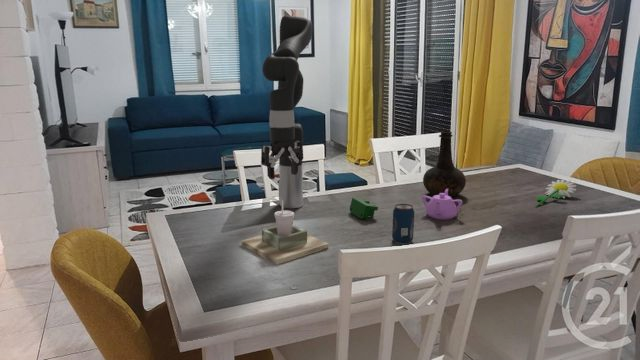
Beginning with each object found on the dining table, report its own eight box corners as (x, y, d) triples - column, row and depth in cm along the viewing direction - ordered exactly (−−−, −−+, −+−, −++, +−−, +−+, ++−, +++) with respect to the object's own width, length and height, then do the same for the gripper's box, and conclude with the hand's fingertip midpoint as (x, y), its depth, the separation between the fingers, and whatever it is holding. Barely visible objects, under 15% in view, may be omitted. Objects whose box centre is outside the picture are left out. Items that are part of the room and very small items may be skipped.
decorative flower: (551, 216, 200) (581, 192, 219) (551, 204, 198) (581, 181, 217) (520, 210, 209) (551, 188, 228) (519, 199, 208) (551, 177, 226)
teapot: (446, 209, 201) (447, 187, 199) (464, 220, 188) (466, 197, 186) (418, 211, 198) (420, 190, 196) (436, 223, 185) (437, 200, 183)
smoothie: (274, 238, 166) (274, 197, 163) (294, 238, 167) (294, 197, 163) (274, 245, 160) (274, 203, 156) (295, 245, 160) (294, 202, 157)
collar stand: (241, 245, 165) (240, 229, 163) (291, 231, 177) (290, 216, 176) (277, 264, 150) (276, 247, 148) (328, 247, 162) (328, 231, 161)
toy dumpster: (371, 228, 192) (381, 210, 188) (357, 227, 190) (367, 208, 185) (360, 208, 202) (370, 190, 197) (347, 206, 199) (356, 188, 195)
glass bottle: (469, 193, 223) (474, 130, 216) (456, 203, 209) (461, 136, 202) (430, 187, 233) (434, 126, 226) (416, 196, 218) (419, 132, 211)
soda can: (390, 236, 172) (392, 203, 169) (411, 237, 171) (413, 203, 168) (393, 244, 165) (394, 209, 162) (414, 244, 165) (416, 209, 162)
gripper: (293, 121, 161) (294, 170, 165) (255, 125, 152) (257, 177, 156) (308, 123, 155) (308, 175, 159) (269, 128, 146) (270, 182, 150)
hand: (283, 176), depth 157 cm, fingers open, 8 cm apart
